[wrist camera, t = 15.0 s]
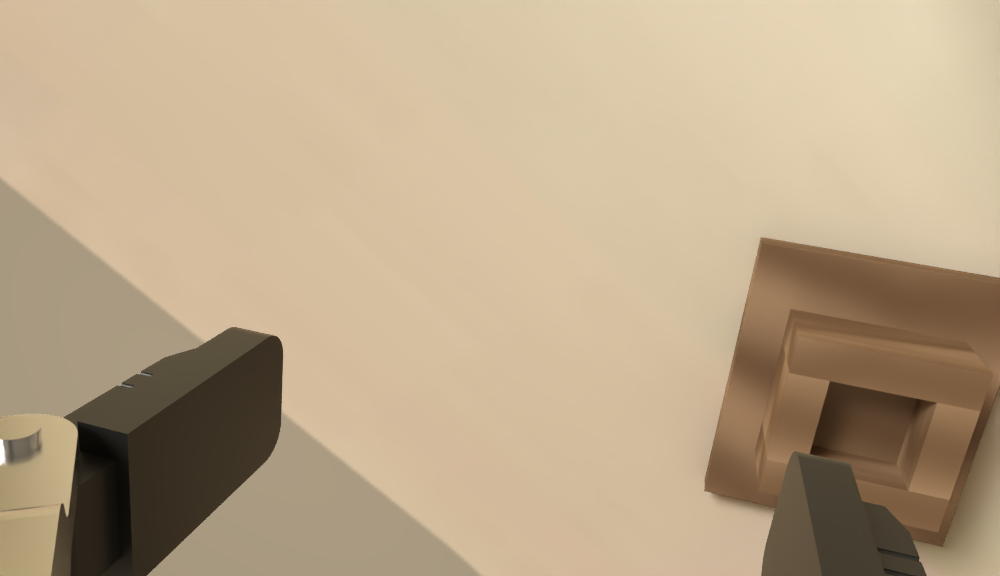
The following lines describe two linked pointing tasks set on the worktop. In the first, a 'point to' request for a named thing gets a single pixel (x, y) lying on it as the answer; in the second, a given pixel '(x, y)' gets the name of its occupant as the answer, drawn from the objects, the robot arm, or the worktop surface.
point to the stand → (860, 379)
